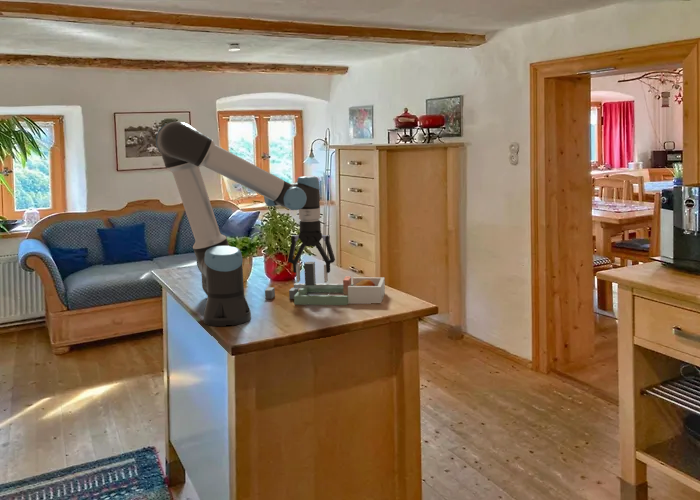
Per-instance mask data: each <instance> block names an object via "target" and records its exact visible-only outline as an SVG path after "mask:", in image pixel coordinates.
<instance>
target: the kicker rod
mask: <svg viewBox="0 0 700 500" xmlns="http://www.w3.org/2000/svg"><path fill="white" fill-rule="evenodd" d="M351 284H352V276H350V275H349V276H346V275H345V276H344V278H343V280H342V283H317V282H316V262H315V261H305V263H304V283H293V288H298V289H301V288H334V289H343V292H342V293H343V296H348V286H351Z"/></svg>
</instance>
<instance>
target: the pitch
mask: <svg viewBox="0 0 700 500" xmlns="http://www.w3.org/2000/svg"><path fill="white" fill-rule="evenodd" d="M351 286H353V283H351ZM275 289H276V288H275V287H270V286H269V287H267V288H266V289H264V296H265V297H264V298H265V300H273V299H274V298H275V296H276V291H275ZM288 291H289V292H288V293H289V294H288V295H289V296H288V297H289V298H288V299H289V300H294V301H293V302H294V303H293V304H294V305H300V306H301V305H304V306H306V305H308V306H309V305H313V306H315V305H317V306H348V304H349V303H348V296H344V295H330V294H331V293H344V292H343V289H334V288H294V287H291V288H290V289H289V290H288ZM308 293H328V294H327V295H313V294H311V295H309V294H308Z"/></svg>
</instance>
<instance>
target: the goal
mask: <svg viewBox="0 0 700 500" xmlns="http://www.w3.org/2000/svg"><path fill="white" fill-rule="evenodd" d="M363 280H371V281H372V282H373V283H374V285H375V286H355V285H356V284H357V283H359V282H361V281H363ZM385 280H386V279H385V277H384V276H383V277H382V276H381V277H380V276H379V277H378V276H377V277H371V276H370V277H366V276H363V277H362V276H361V277H360V276H359V277H357V276H354V277H352V284H353V286H348V304H352V305H353V304H356V305H357V304H360V305H361V304H363V305H365V304H366V305H367V304H368V305H369V304H370V305H372V304H371V303H381V302H382V303H383V300H384V297H385V294H386V290H385V289H386V287H385V286H386V285H385V283H386V281H385ZM382 303H381V304H382Z"/></svg>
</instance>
